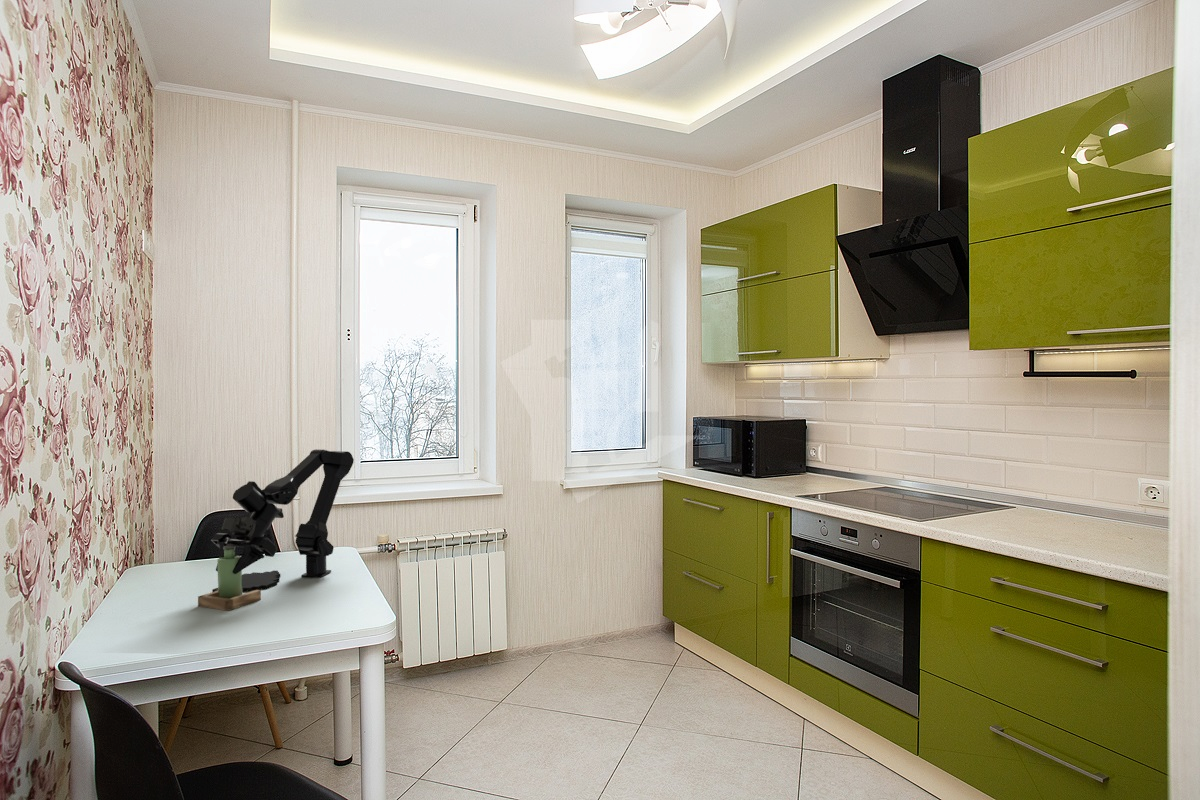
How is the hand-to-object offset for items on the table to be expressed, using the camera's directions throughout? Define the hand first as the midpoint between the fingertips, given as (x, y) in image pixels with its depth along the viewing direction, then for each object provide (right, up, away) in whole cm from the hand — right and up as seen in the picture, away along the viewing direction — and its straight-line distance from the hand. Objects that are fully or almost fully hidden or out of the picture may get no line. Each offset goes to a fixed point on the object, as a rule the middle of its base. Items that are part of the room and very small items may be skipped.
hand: (225, 572), depth 182 cm
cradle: (+1, -8, +1) cm, 8 cm away
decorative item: (-5, -9, +20) cm, 22 cm away
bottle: (+1, -7, +1) cm, 7 cm away
